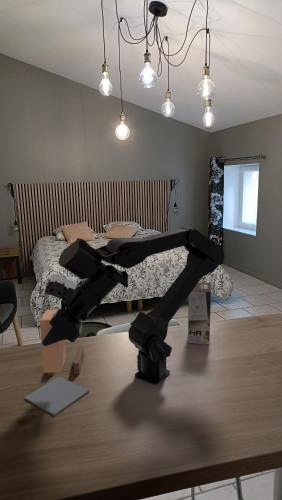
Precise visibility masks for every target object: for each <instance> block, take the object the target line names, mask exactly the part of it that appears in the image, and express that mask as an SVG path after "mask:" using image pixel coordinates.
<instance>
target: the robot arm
mask: <svg viewBox="0 0 282 500" xmlns="http://www.w3.org/2000/svg"><path fill="white" fill-rule="evenodd" d="M181 247H183V248H184V249H185V251H187V252H188V253H187V254H186V255H187V256H186V261H185V262H186V263H185V266H184V268H183V269H182V270H181V272H180V273H179V274H178V276H177V277H176V279H174V281H173V282H172V283H171V285H170V286H169V288H168V289H167V290H166V291H165V293H164V294H163V295H162V297H161V298H160V300H158V302H157V304H155V306H154V308H153V309H152V310H151V311H149V312H144V311H140V312H139V313H138V314H137V315H136V317H135V319H134V320H133V321H131V322H130V327H129V328H128V331H127V334H128V339H129V341H130V343H132V344H133V345H134V347H135V348H136V349H138V351H137V352H138V354H137V356H136V357H137V358H136V360H137V362H136V363H137V366H136V367H137V371H136V373H135V374H134V377H135V378H137V379H140V380H143V381H145V382H148V383H151V384H152V385H158V384H159V383H160V382H162V380H164V379H165V378H166V377H167V376H168V375H169V374H170V373H171V370H169V369H167V358H168V357H170V356H171V354H172V350H173V346H170V344H168V343H167V342H165V341H166V338H167V336H168V329H169V324H170V322H171V320H172V319H173V318H174V316H175V315H176V313H177V312H178V310H180V308H181V307H182V306H183V305H184V303H185V301H186V300H187V299H188V298H189V294H190V293H191V292H192V290H193V289H194V288H195V286H196V285H197V284H198V283H200V281H201V280H202V279H203V277H206V276H207V275H209V274H211V273H213V272H215V270H216V269H217V268H218V267H219V266H221V264H222V263H224V260H225V251H224V248H223V246H222V245H221V244H220V243H216V242H215V241H213V240H212V239H210V238H208V237H207V236H205V235H204V234H202V232H200V231H199V230H198V229H197V228H194V227H192V226H191V227H189V226H181V227H179V228H176V229H172V230H167V231H163V232H160V233H156V234H151V235H148V236H144V237H115V238H112V239H110V240H109V241H107V244H105V245H103V246H100V247H96V248H94V247H92V246H91V245H90V244H89V243H88V241H86V240H85V239H83V238H80V237H77V238H76V240H75V241H74V242H72V243H70V244H69V245H68V246H67V247H65V248H64V249H63V250H62V251H61V253H60V256H59V258H58V265H59V266H60V267H61V268H63V269H65V270H66V271H67V272H69V273H70V274H72V275H74V277H77V278H78V279H80V281H79V282H78V283H76V282H74V281H73V280H71V279H68V278H66V277H63V276H61V275H58V274H56V273H55V274H54V273H53V274H52V275H51V276H50V277H49V278H48V281H47V284H46V286H45V289H44V291H43V292H44V293H45V294H46V295H49V296H52V297H55V298H57V299H61V301H60V308H59V310H58V311H57V312H56V313H55V314H53V316H52V318H51V320H50V321H49V323H50V325H51V326H52V328H51V329H50V331H49V332H48V334H47V335H46V337H45V338H44V340H43V341H42V343H41V345H42V344H43V345H44V346H47V345H50V344H53V343H56V342H59V341H62V340H65V341H66V340H68V341H69V342H70V343H75V342H76V340H77V339H78V338H79V337H80V336H81V333H82V330H83V324H82V321H86V320H87V319H88V317H89V315H90V313H91V312H93V310H94V309H96V308H99V307H100V306H101V305H102V302H103V300H105V298H106V297H107V296H108V295H109V294H110V293H111V292H112V291H113V290H114V289H115V288H116V287H117V286H119V284H120V285H121V286H123V287H125V288H126V289H127V288H129V274H128V272H127V271H126V270H119V269H118V268H116V266H118V267H121V268H123V269H131V268H134V267H135V266H137V265H140V264H141V263H143V262H144V261H145V260H146V259H147V258H149V257H151V256H153V255H154V256H155V255H156V254H160V253H164V252H168V251H170V250H171V251H172V250H174V249H178V248H181ZM102 261H103V262H102ZM105 263H107V264H105ZM113 265H114V266H113ZM80 319H82V321H81V320H80Z"/></svg>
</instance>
